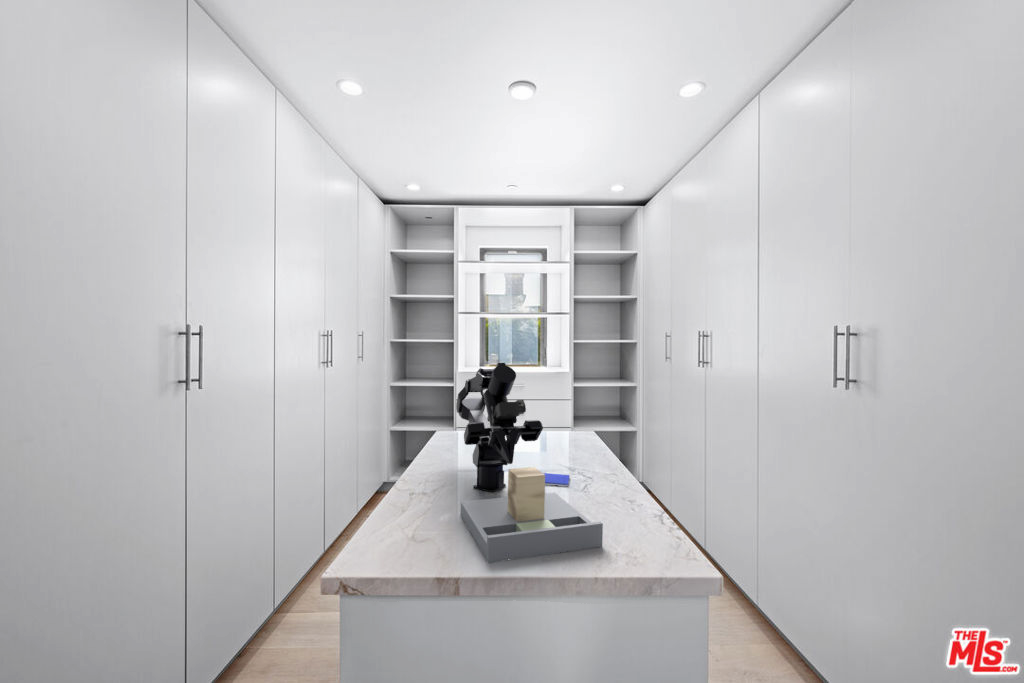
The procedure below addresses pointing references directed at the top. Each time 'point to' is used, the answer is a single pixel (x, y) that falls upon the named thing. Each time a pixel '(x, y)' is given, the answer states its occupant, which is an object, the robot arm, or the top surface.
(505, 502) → the board
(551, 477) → the hard drive
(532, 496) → the maple block
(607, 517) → the top surface
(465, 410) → the robot arm
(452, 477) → the top surface
